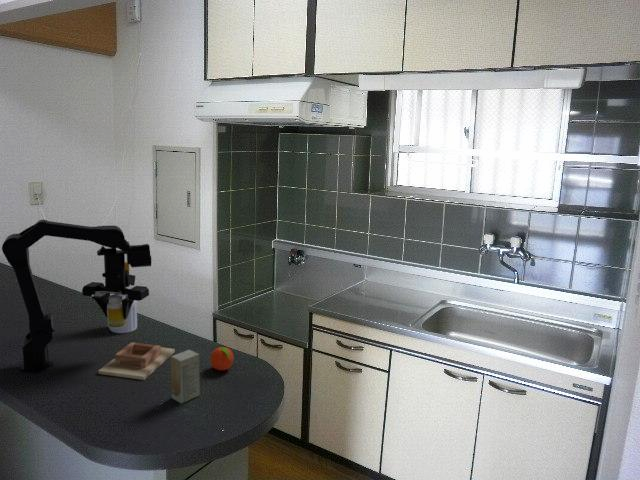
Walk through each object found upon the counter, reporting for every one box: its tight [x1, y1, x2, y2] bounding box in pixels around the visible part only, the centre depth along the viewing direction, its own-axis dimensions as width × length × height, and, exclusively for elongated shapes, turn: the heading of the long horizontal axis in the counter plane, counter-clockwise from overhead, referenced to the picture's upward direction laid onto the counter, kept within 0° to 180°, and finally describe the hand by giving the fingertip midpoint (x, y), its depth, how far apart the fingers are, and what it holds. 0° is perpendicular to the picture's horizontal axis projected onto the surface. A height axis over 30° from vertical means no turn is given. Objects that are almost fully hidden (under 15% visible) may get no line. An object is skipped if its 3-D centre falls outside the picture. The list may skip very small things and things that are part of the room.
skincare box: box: [170, 349, 200, 404], centre depth 139 cm, size 6×4×12 cm
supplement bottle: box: [106, 294, 126, 329], centre depth 159 cm, size 5×5×10 cm
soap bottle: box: [109, 261, 138, 334], centre depth 181 cm, size 9×9×25 cm
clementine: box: [209, 346, 235, 371], centre depth 156 cm, size 8×7×7 cm
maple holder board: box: [97, 341, 176, 381], centre depth 159 cm, size 20×14×4 cm
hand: (116, 318), depth 159 cm, fingers closed on supplement bottle, 5 cm apart
